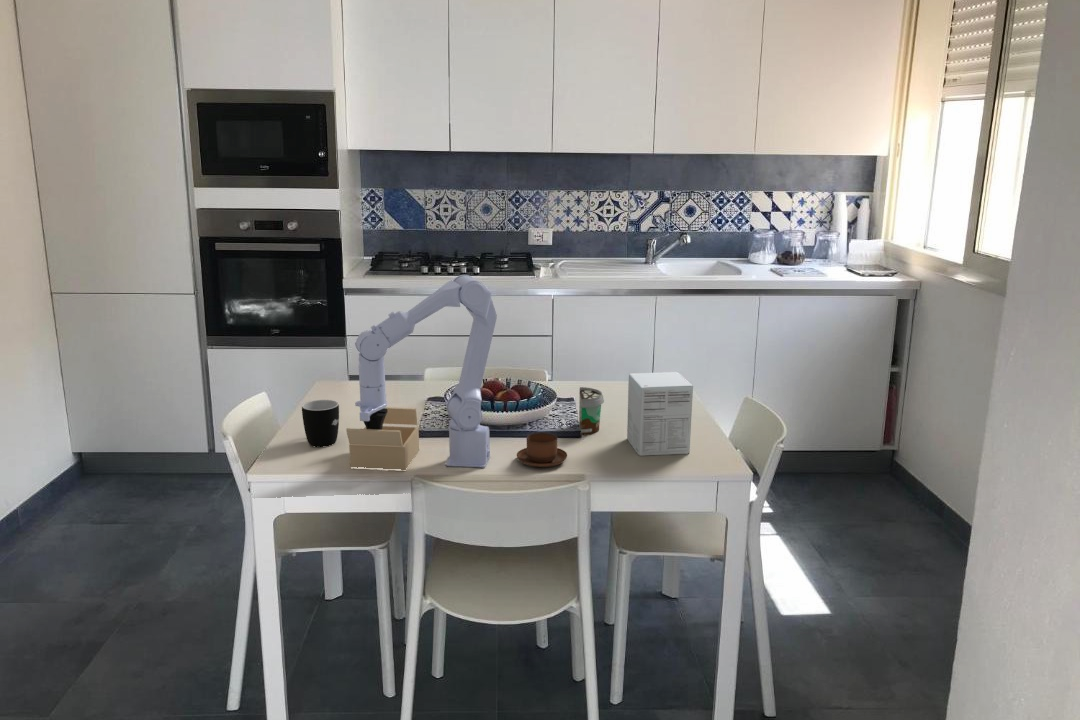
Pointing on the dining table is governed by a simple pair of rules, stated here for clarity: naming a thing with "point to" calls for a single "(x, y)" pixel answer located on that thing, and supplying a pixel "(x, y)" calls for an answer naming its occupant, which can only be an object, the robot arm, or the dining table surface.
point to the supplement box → (659, 413)
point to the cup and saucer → (542, 451)
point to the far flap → (401, 416)
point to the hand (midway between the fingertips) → (374, 441)
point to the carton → (387, 451)
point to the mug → (321, 422)
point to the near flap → (374, 437)
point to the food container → (590, 410)
